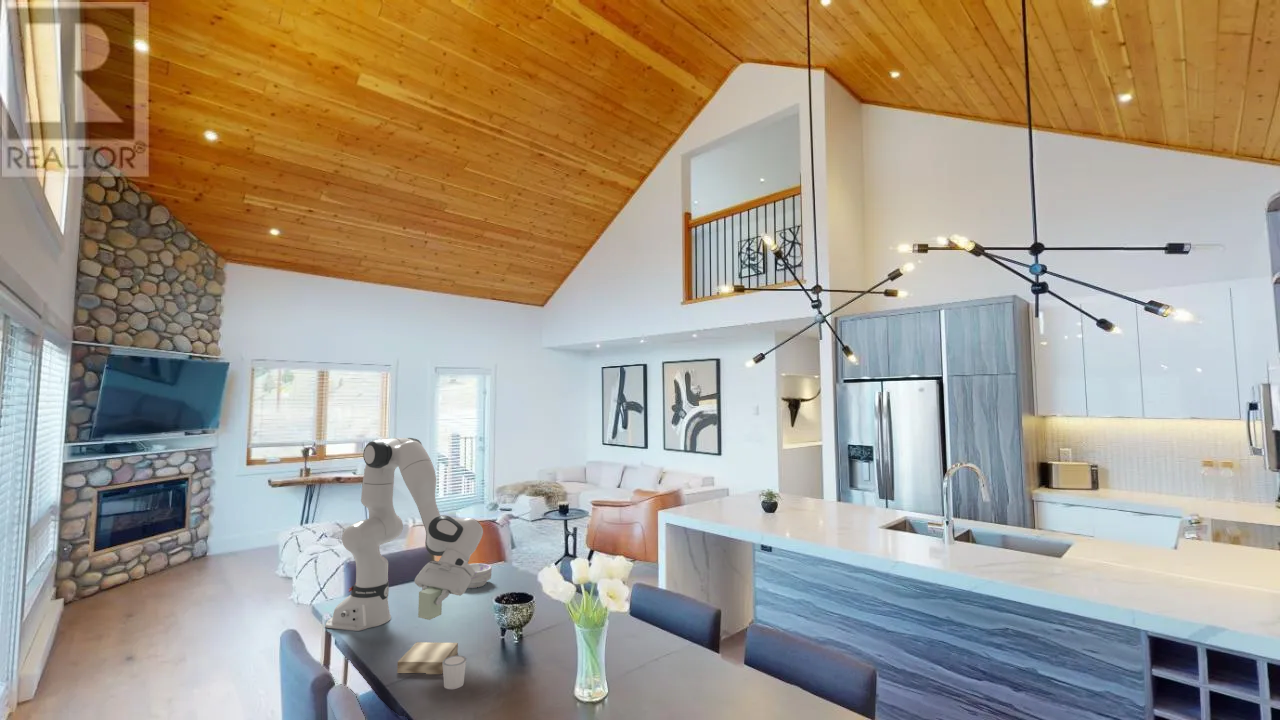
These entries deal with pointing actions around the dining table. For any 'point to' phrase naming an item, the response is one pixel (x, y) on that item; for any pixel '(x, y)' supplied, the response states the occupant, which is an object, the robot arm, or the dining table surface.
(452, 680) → the shot glass
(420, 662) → the block
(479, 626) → the dining table surface
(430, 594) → the sage block
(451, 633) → the dining table surface
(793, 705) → the dining table surface
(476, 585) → the light grey bowl
